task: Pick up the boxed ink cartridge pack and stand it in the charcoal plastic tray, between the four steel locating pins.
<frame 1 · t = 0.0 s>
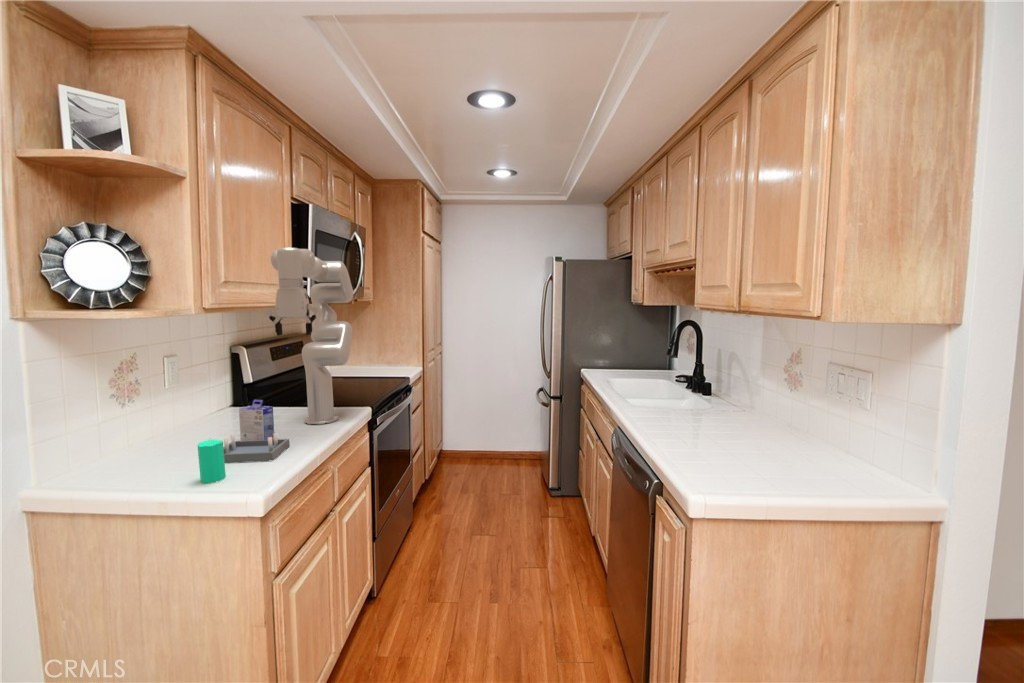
hand: (294, 334, 169), 37 cm above the table, tool pointing down, fingers open, 9 cm apart
pin tray: (252, 454, 157), on the table
candle: (213, 479, 137), on the table
ink cartridge box: (258, 442, 171), on the table
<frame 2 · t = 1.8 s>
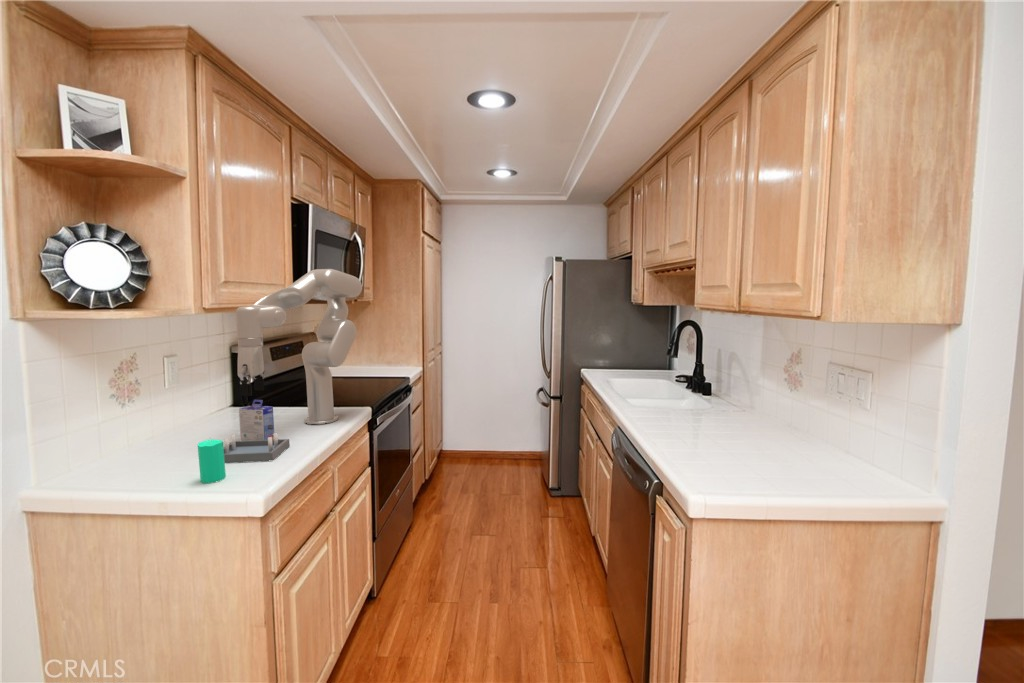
hand: (253, 392, 168), 17 cm above the table, tool pointing down, fingers open, 9 cm apart
nothing on the table moved.
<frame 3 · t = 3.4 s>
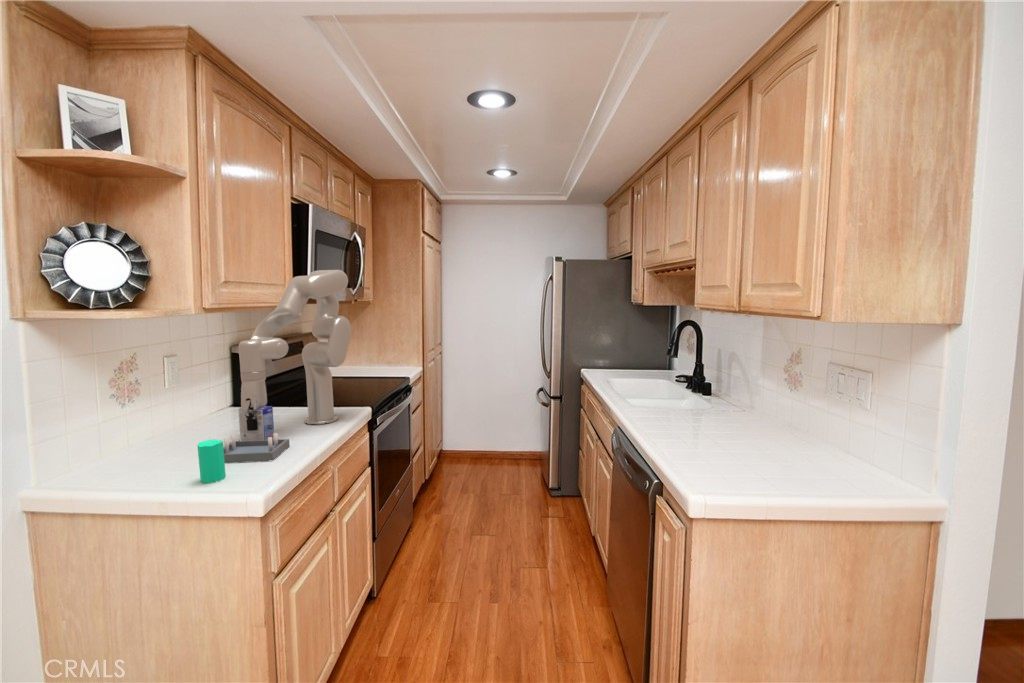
hand: (257, 426, 170), 5 cm above the table, tool pointing down, fingers closed on ink cartridge box, 6 cm apart
ink cartridge box: (258, 442, 171), on the table, touching gripper
everything else where it was.
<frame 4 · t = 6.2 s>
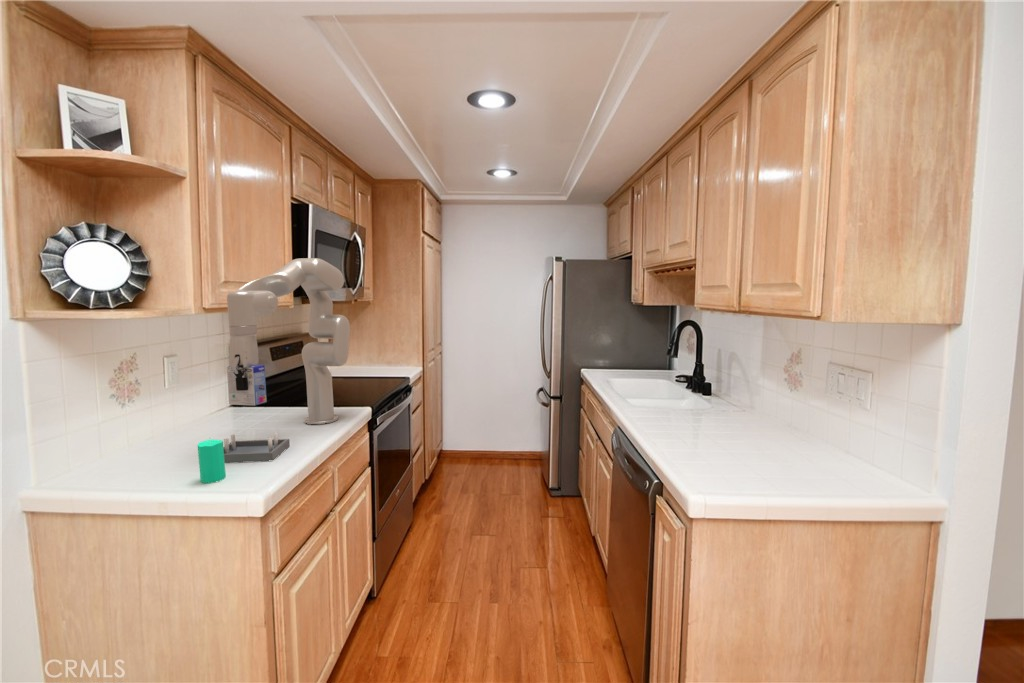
hand: (247, 387, 155), 22 cm above the table, tool pointing down, fingers closed on ink cartridge box, 6 cm apart
ink cartridge box: (248, 404, 156), point 16 cm above the table, touching gripper
everything else where it was.
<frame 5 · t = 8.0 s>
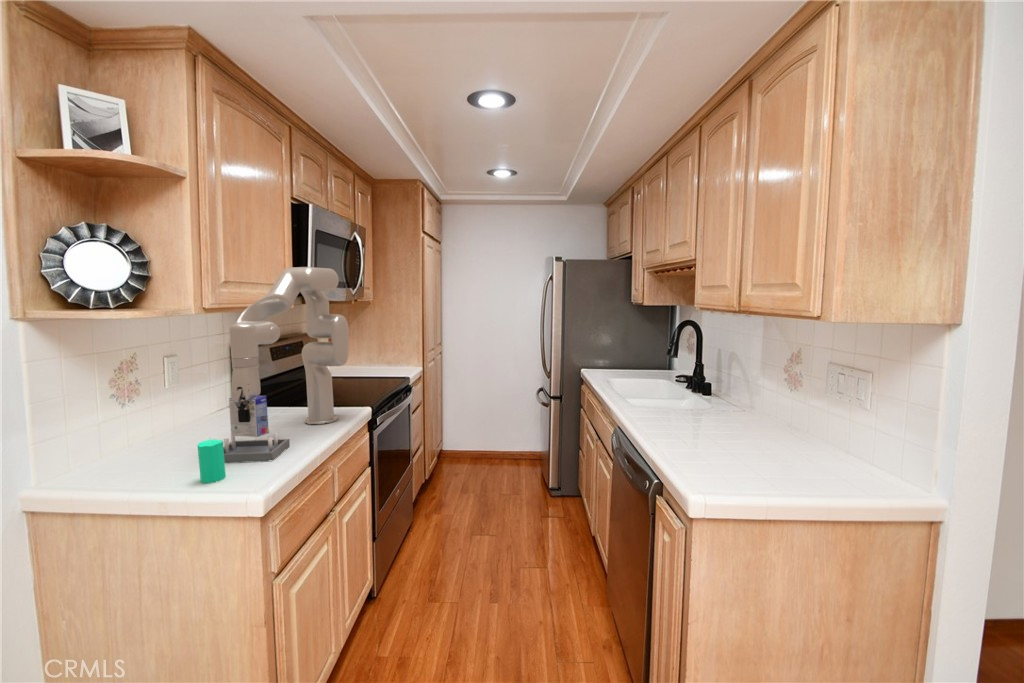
hand: (249, 418, 156), 12 cm above the table, tool pointing down, fingers closed on ink cartridge box, 6 cm apart
ink cartridge box: (250, 435, 156), point 6 cm above the table, touching gripper
everything else where it was.
when the fingers open (8 cm above the table, at t = 9.3 s): ink cartridge box drops 1 cm, resting on pin tray.
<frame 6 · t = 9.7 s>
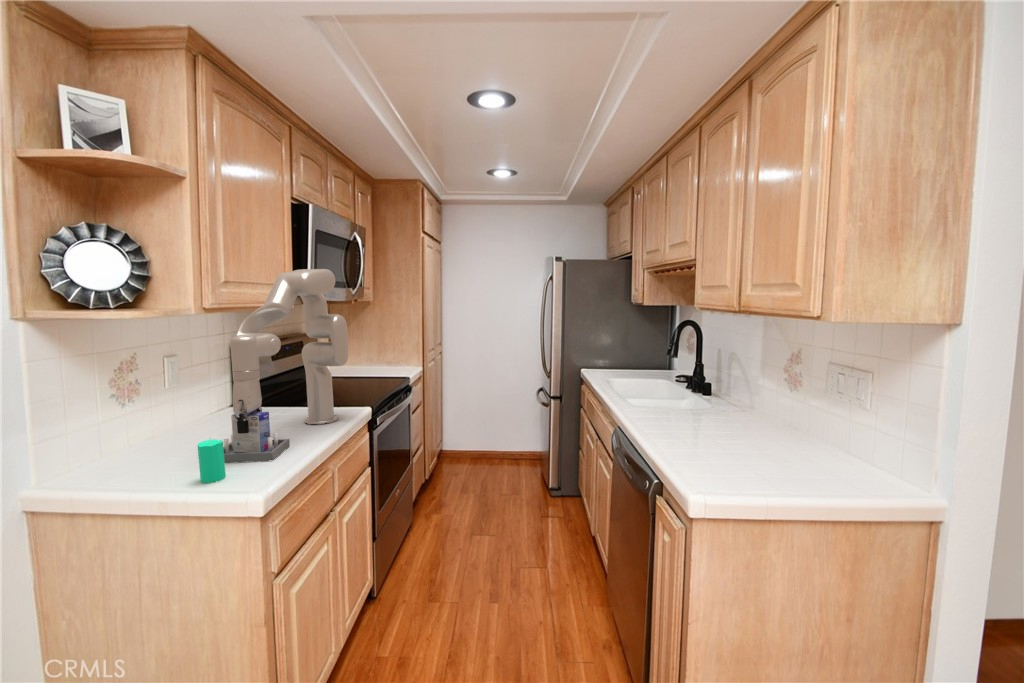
hand: (250, 428, 156), 8 cm above the table, tool pointing down, fingers open, 9 cm apart
ink cartridge box: (252, 451, 157), point 1 cm above the table, touching pin tray
everything else where it was.
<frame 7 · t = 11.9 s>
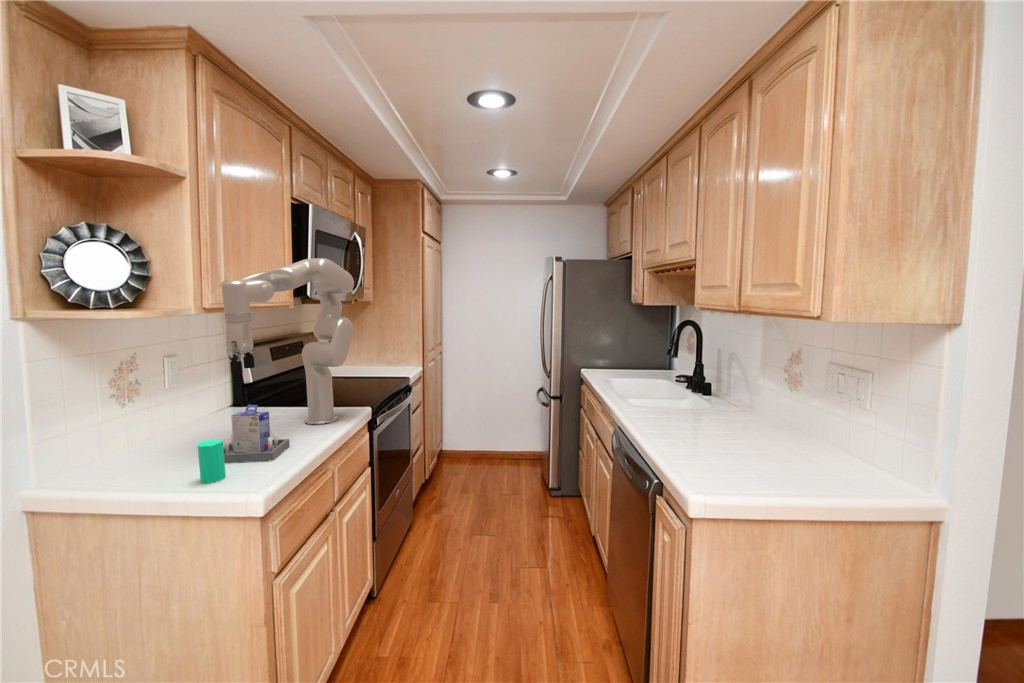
hand: (243, 370, 163), 26 cm above the table, tool pointing down, fingers open, 9 cm apart
nothing on the table moved.
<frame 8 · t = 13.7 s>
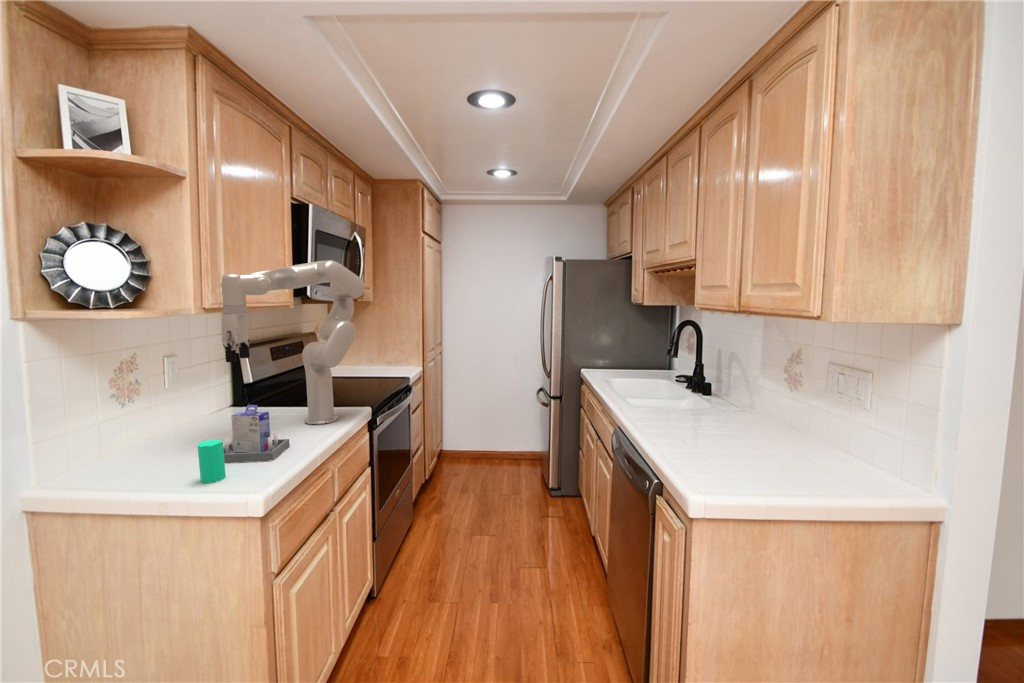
hand: (238, 360, 170), 28 cm above the table, tool pointing down, fingers open, 9 cm apart
nothing on the table moved.
at the end: ink cartridge box 0.5 cm off-centre on the pin tray, point 1.0 cm above the pin tray's base; ink cartridge box tilted 0°; the gripper is holding nothing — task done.
